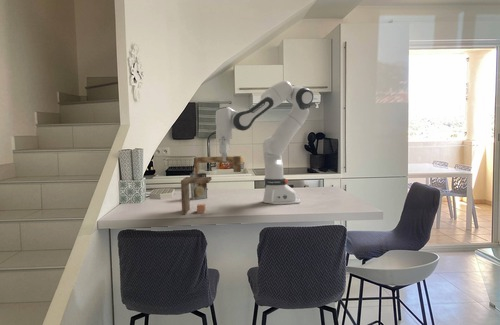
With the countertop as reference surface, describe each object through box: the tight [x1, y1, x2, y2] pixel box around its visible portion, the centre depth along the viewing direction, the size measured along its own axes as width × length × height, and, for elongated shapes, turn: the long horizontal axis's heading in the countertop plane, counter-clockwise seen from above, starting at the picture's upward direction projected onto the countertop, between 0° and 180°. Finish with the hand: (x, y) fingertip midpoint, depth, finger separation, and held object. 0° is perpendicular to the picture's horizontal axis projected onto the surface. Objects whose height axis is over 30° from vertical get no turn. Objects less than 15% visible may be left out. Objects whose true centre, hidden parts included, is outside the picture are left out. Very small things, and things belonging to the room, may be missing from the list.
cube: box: [196, 203, 206, 214], centre depth 216 cm, size 4×4×4 cm
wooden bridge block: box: [193, 155, 242, 173], centre depth 226 cm, size 26×9×8 cm, turn 88°
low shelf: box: [180, 176, 212, 216], centre depth 216 cm, size 14×14×18 cm
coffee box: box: [189, 172, 208, 200], centre depth 258 cm, size 9×6×16 cm
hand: (224, 160), depth 225 cm, fingers closed on wooden bridge block, 2 cm apart
